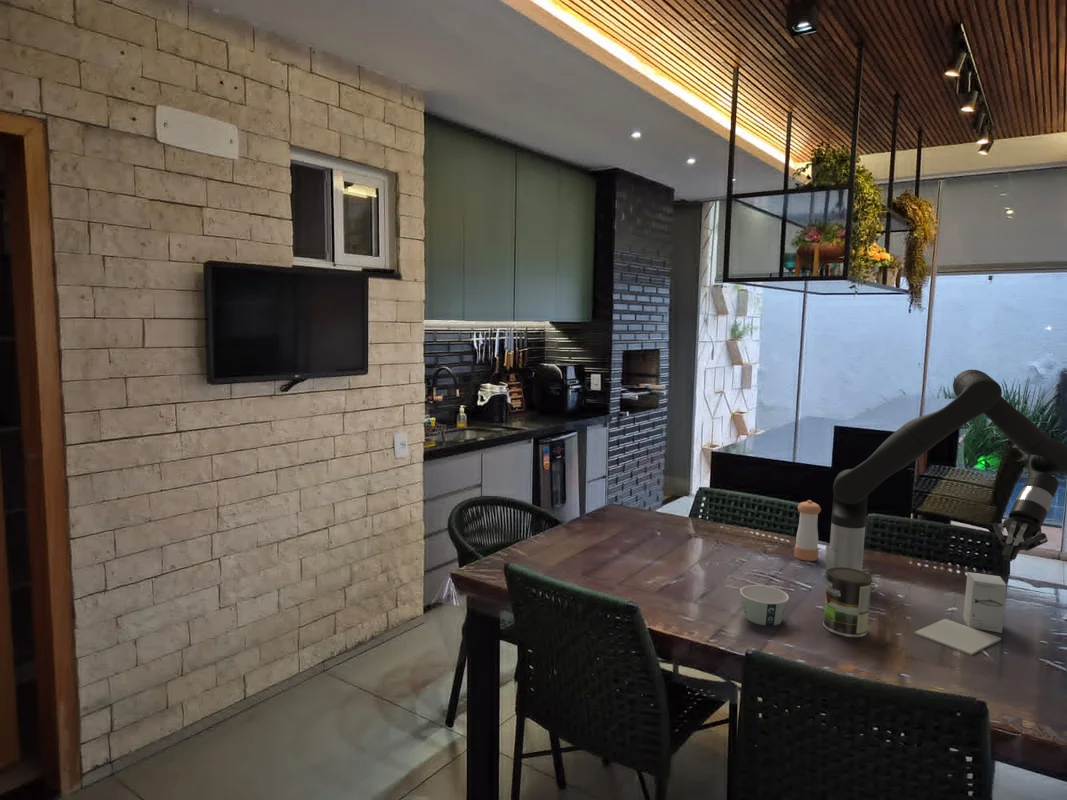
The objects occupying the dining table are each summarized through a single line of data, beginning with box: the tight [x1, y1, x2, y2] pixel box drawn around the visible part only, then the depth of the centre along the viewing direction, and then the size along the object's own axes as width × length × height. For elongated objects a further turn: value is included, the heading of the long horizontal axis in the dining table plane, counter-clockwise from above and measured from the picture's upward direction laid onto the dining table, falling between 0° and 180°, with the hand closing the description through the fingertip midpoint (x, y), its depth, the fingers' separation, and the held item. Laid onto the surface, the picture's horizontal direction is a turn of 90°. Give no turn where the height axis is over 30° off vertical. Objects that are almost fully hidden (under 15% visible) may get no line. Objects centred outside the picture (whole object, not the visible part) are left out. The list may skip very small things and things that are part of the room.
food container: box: [739, 584, 790, 627], centre depth 177 cm, size 12×12×6 cm
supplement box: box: [962, 571, 1008, 634], centre depth 175 cm, size 7×7×13 cm
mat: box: [913, 618, 1002, 656], centre depth 168 cm, size 15×13×1 cm
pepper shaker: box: [793, 499, 822, 562], centre depth 224 cm, size 7×7×19 cm
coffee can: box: [822, 567, 873, 638], centre depth 171 cm, size 10×10×14 cm
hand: (1006, 558), depth 179 cm, fingers closed
